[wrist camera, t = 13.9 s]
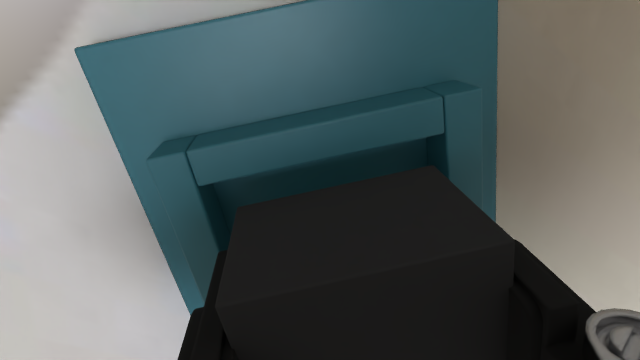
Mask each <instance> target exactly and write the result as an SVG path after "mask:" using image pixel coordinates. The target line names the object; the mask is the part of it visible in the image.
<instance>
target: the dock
mask: <svg viewBox="0 0 640 360" xmlns="http://www.w3.org/2000/svg"><path fill="white" fill-rule="evenodd" d="M497 45H498V0H306V1H301V2H296V3H291V4H286V5H282V6H277V7H272V8H267V9H262V10H257V11H252V12H247V13H243V14H238V15H233V16H228V17H223V18H218V19H213V20H209V21H204V22H199V23H194V24H189V25H184V26H179V27H174V28H170V29H165V30H160V31H155V32H150V33H145V34H140V35H135V36H131V37H126V38H121V39H116V40H111V41H106V42H101V43H96V44H92V45H87V46H82V47H77V48H75V53H76V56H77V58H78V60H79V62H80V65H81V67H82V69H83V71H84V74H85V76H86V78H87V81H88V83H89V85H90V87H91V90H92V92H93V94H94V97H95V99H96V101H97V103H98V106H99V108H100V110H101V112H102V115H103V117H104V119H105V122H106V124H107V126H108V128H109V131H110V133H111V135H112V138H113V140H114V142H115V144H116V147H117V149H118V151H119V153H120V156H121V158H122V160H123V163H124V165H125V167H126V169H127V172H128V174H129V176H130V178H131V181H132V183H133V185H134V188H135V190H136V192H137V194H138V197H139V199H140V201H141V204H142V206H143V208H144V210H145V213H146V215H147V217H148V219H149V222H150V224H151V226H152V229H153V231H154V233H155V235H156V238H157V240H158V242H159V245H160V247H161V249H162V251H163V254H164V256H165V258H166V260H167V263H168V265H169V267H170V270H171V272H172V274H173V276H174V279H175V281H176V283H177V286H178V288H179V290H180V292H181V295H182V297H183V299H184V301H185V304H186V306H187V308H188V311H189V313H190V315H191V314H192V312H193V310H195V309H196V308H200V307H204V304H205V300H206V297H207V293H208V289H209V285H210V282H211V278H212V274H213V270H214V266H215V263H216V259H217V255H218V253H219V252H220V251H224V250H228V246H229V242H230V237H231V233H232V228H233V224H234V220H235V215H236V211H237V208H238V207H240V206H245V205H249V204H254V203H259V202H263V201H268V200H273V199H277V198H282V197H287V196H291V195H296V194H300V193H305V192H310V191H314V190H319V189H324V188H328V187H333V186H338V185H342V184H347V183H352V182H356V181H361V180H365V179H370V178H375V177H379V176H384V175H389V174H393V173H398V172H403V171H407V170H412V169H416V168H421V167H426V166H430V165H434V166H435V167H436V168H437V169H438V170H439V171H440V172H441V173H442V174H443V175H444V176H446V177H447V178H448V179H449V180H450V181H451V182H452V183H453V184H454V185H455V186H456V187H458V188H459V189H460V190H461V191H462V192H463V193H464V194H465V195H466V196H467V197H468V198H469V199H471V200H472V201H473V202H474V203H475V204H476V205H477V206H478V207H479V208H480V209H481V210H482V211H484V212H485V213H486V214H487V215H488V216H489V217H490V218H491V219H492V220H493V221H494V222H495V223H496V140H497Z"/></svg>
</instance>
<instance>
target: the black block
mask: <svg viewBox="0 0 640 360" xmlns="http://www.w3.org/2000/svg"><path fill="white" fill-rule="evenodd" d="M514 252H515V241H514V239H513V238H512V237H511V236H510V235H508V234H507V233H506V232H505V231H504V230H503V229H502V228H501V227H500V226H499V225H498V224H497V223H495V222H494V221H493V220H492V219H491V218H490V217H489V216H488V215H487V214H486V213H485V212H484V211H482V210H481V209H480V208H479V207H478V206H477V205H476V204H475V203H474V202H473V201H472V200H471V199H469V198H468V197H467V196H466V195H465V194H464V193H463V192H462V191H461V190H460V189H459V188H458V187H456V186H455V185H454V184H453V183H452V182H451V181H450V180H449V179H448V178H447V177H446V176H444V175H443V174H442V173H441V172H440V171H439V170H438V169H437V168H436V167H435V166H434V165H430V166H426V167H421V168H416V169H412V170H407V171H403V172H398V173H393V174H389V175H384V176H379V177H375V178H370V179H365V180H361V181H356V182H352V183H347V184H342V185H338V186H333V187H328V188H324V189H319V190H314V191H310V192H305V193H300V194H296V195H291V196H287V197H282V198H277V199H273V200H268V201H263V202H259V203H254V204H249V205H245V206H240V207H238V208H237V211H236V215H235V220H234V224H233V228H232V233H231V237H230V242H229V246H228V251H227V255H226V259H225V264H224V268H223V273H222V277H221V282H220V286H219V290H218V295H217V299H216V304H215V308H216V311H217V313H218V316H219V318H220V321H221V323H222V326H223V328H224V331H225V333H226V336H227V339H228V341H229V344H230V346H231V349H235V352H236V354H237V357H238V359H239V360H507V336H508V304H509V288H510V287H513V279H514Z"/></svg>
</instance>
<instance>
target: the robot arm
mask: <svg viewBox="0 0 640 360" xmlns="http://www.w3.org/2000/svg"><path fill="white" fill-rule="evenodd" d="M514 241H515V252H514V279H513V287H510V288H509V304H508V336H507V360H640V312H636V311H632V310H626V309H615V308H614V309H606V310H601V311H598V312H595V311H594V310H593V309H592V308H591V307H590V306H589V305H588V304H587V303H586V302H585V301H583V300H582V299H581V298H580V297H579V296H578V295H577V294H576V293H575V292H574V291H573V290H571V289H570V288H569V287H568V286H567V285H566V284H565V283H564V282H563V281H562V280H560V279H559V278H558V277H557V276H556V275H555V274H554V273H553V272H552V271H551V270H550V269H548V268H547V267H546V266H545V265H544V264H543V263H542V262H541V261H540V260H539V259H538V258H536V257H535V256H534V255H533V254H532V253H531V252H530V251H529V250H528V249H527V248H526V247H524V246H523V245H522V244H521V243H520V242H518V241H517V240H514ZM227 251H228V250H224V251H220V252H219V253H218V255H217V259H216V263H215V266H214V270H213V274H212V278H211V282H210V285H209V289H208V293H207V297H206V300H205V304H204V307H200V308H196V309H195V310H193V312H192V314H191V317H190V320H189V323H188V327H187V330H186V333H185V337H184V340H183V343H182V347H181V350H180V353H179V357H178V360H239V359H238V357H237V354H236V352H235V349H231V346H230V344H229V341H228V339H227V336H226V333H225V331H224V328H223V326H222V323H221V321H220V318H219V316H218V313H217V311H216V308H215V304H216V299H217V295H218V290H219V286H220V282H221V277H222V273H223V268H224V264H225V259H226V255H227Z"/></svg>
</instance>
